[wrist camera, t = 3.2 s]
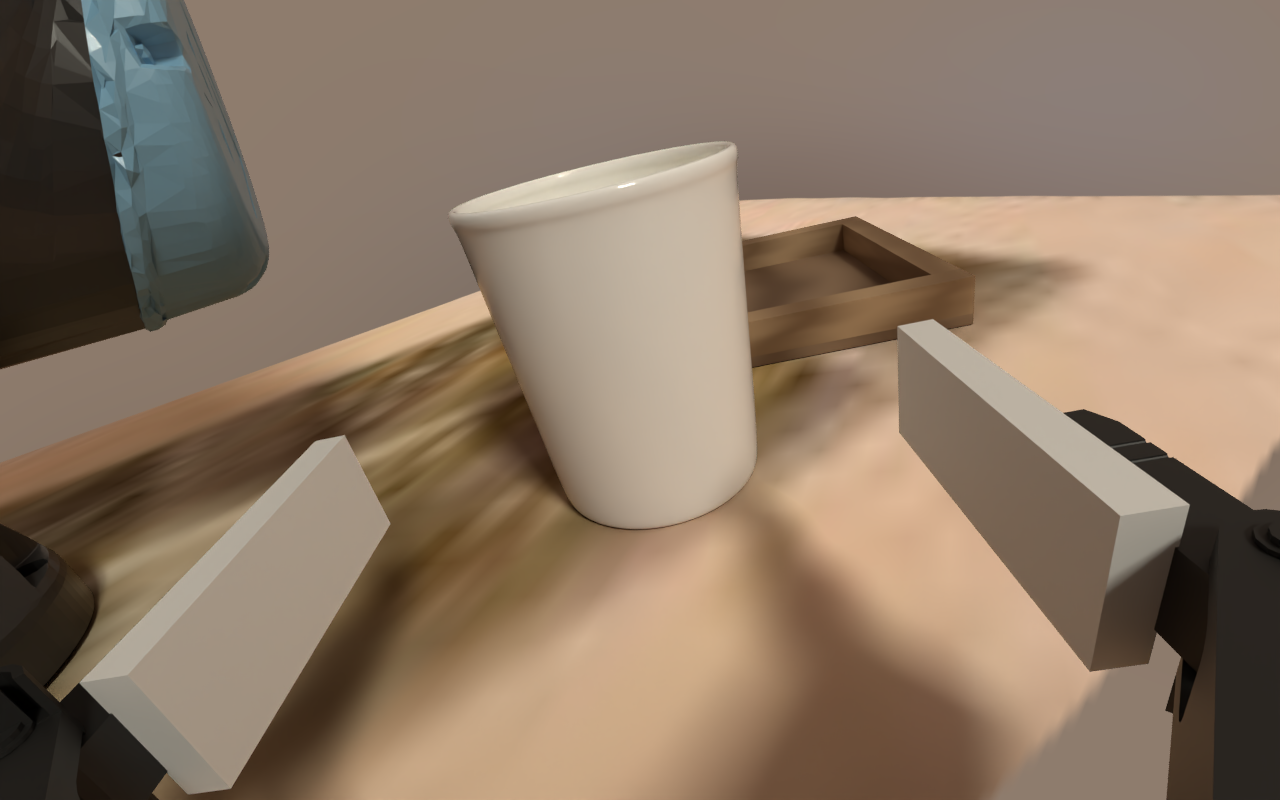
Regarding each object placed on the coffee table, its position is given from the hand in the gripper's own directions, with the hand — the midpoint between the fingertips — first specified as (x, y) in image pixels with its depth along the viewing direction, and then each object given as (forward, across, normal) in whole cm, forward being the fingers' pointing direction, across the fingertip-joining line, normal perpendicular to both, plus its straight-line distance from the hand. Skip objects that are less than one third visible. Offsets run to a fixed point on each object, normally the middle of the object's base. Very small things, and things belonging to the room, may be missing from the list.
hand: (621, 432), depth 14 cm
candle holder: (+9, 0, -7) cm, 11 cm away
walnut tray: (+26, +8, -7) cm, 28 cm away
